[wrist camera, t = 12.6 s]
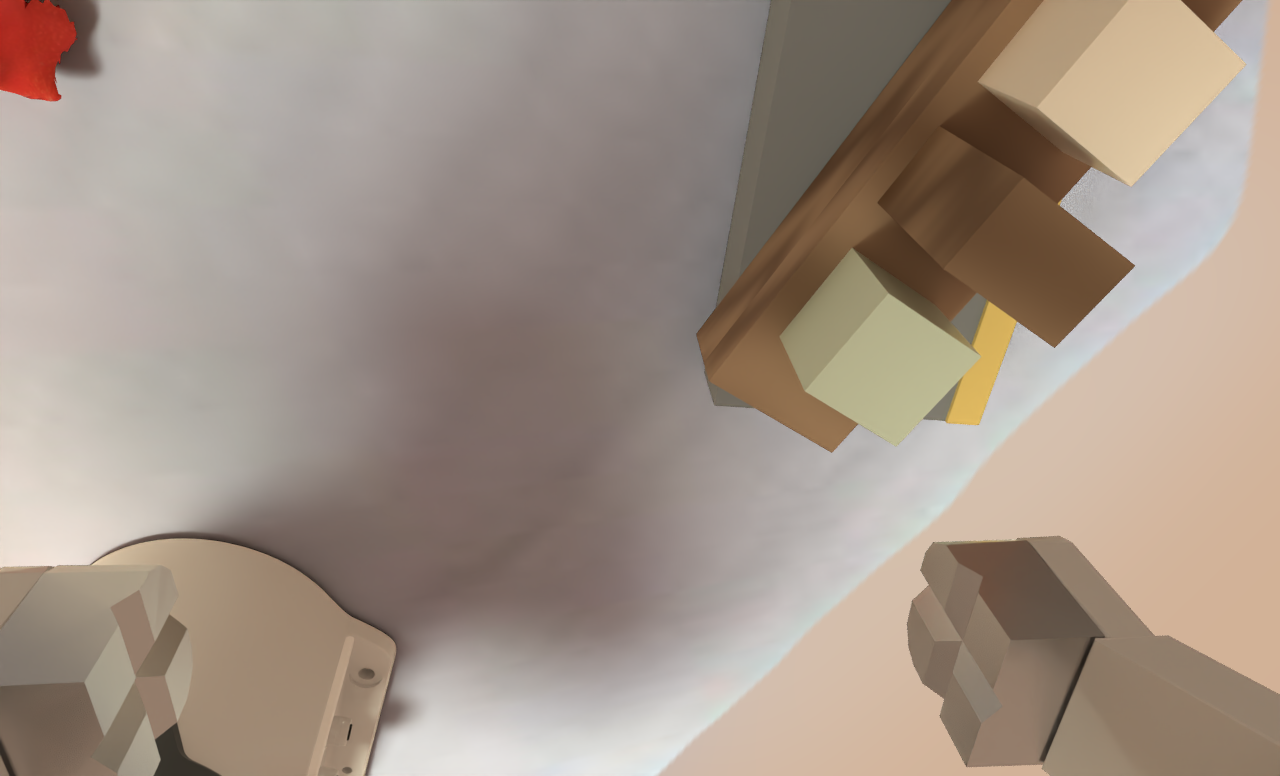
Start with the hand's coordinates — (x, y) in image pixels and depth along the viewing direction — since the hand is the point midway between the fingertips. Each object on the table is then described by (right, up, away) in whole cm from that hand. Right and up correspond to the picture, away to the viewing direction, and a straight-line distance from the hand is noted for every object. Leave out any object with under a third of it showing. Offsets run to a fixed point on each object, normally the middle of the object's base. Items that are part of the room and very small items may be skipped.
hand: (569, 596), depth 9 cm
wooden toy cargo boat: (+11, +10, +23) cm, 27 cm away
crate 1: (+9, +5, +21) cm, 23 cm away
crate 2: (+14, +12, +17) cm, 25 cm away
